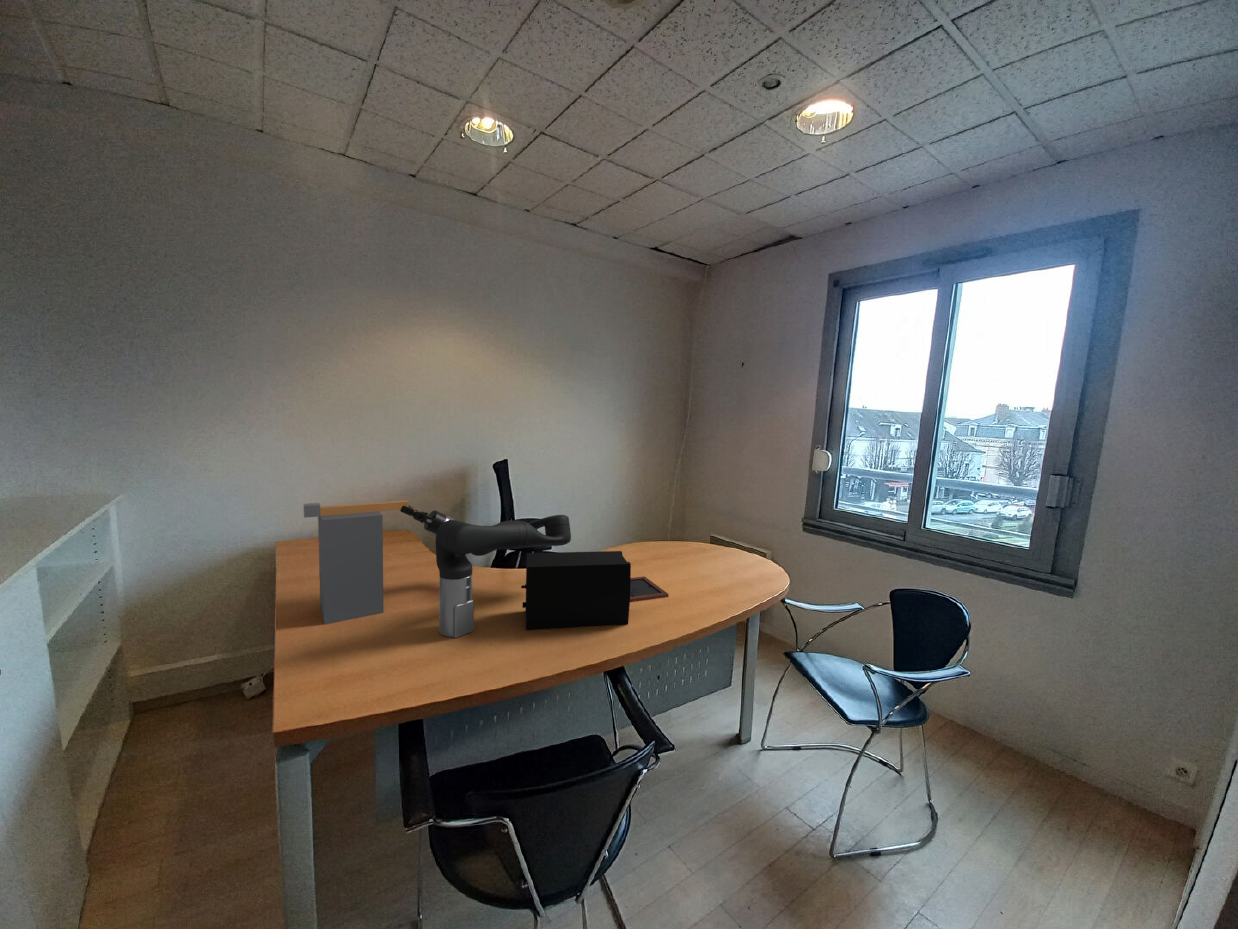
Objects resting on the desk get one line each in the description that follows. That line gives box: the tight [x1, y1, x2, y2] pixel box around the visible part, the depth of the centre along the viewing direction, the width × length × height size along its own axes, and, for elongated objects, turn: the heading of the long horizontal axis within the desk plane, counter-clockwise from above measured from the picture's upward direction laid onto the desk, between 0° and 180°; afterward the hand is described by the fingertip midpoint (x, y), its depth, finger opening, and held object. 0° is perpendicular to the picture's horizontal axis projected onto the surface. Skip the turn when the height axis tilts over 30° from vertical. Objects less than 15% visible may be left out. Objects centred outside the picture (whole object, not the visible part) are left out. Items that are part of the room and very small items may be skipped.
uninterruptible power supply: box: [520, 550, 632, 632], centre depth 146 cm, size 16×34×20 cm, turn 102°
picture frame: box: [630, 575, 670, 603], centre depth 172 cm, size 20×2×25 cm
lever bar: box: [303, 500, 409, 518], centre depth 145 cm, size 29×4×4 cm, turn 127°
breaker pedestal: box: [317, 511, 385, 625], centre depth 145 cm, size 16×16×32 cm
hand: (398, 505), depth 152 cm, fingers open, 8 cm apart
